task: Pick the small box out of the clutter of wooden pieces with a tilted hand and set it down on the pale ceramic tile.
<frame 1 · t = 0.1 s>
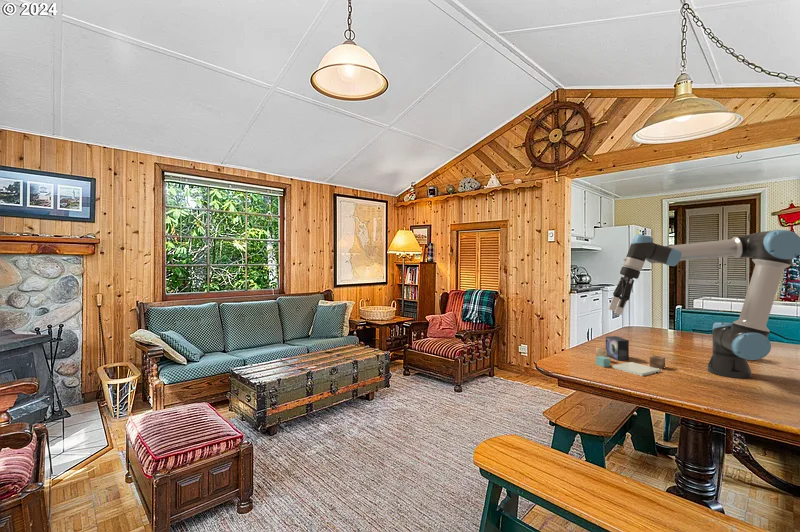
hand: (614, 312, 176), 28 cm above the table, tool tilted 20°, fingers open, 13 cm apart
oak cylinder: (601, 360, 196), on the table
pine cone: (741, 359, 198), on the table
small box: (616, 358, 201), on the table
tile: (636, 369, 179), on the table
walnut block: (657, 367, 183), on the table
teal block: (602, 365, 187), on the table
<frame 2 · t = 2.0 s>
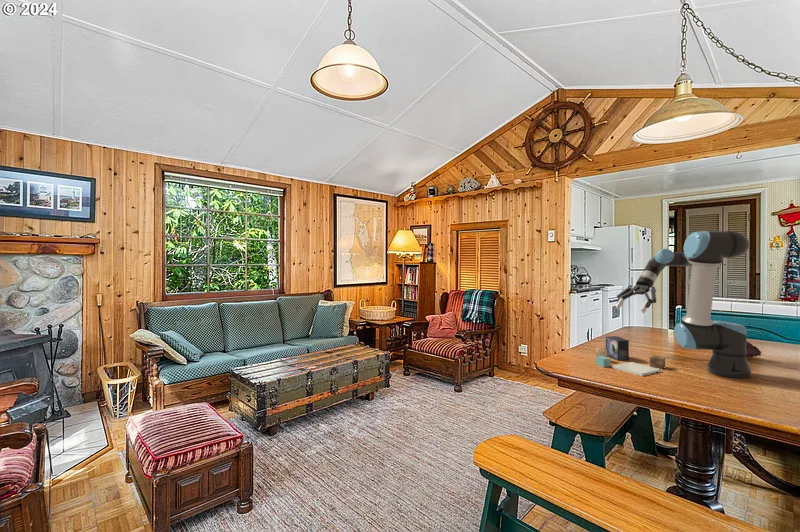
hand: (629, 309, 204), 25 cm above the table, tool tilted 45°, fingers open, 13 cm apart
nothing on the table moved.
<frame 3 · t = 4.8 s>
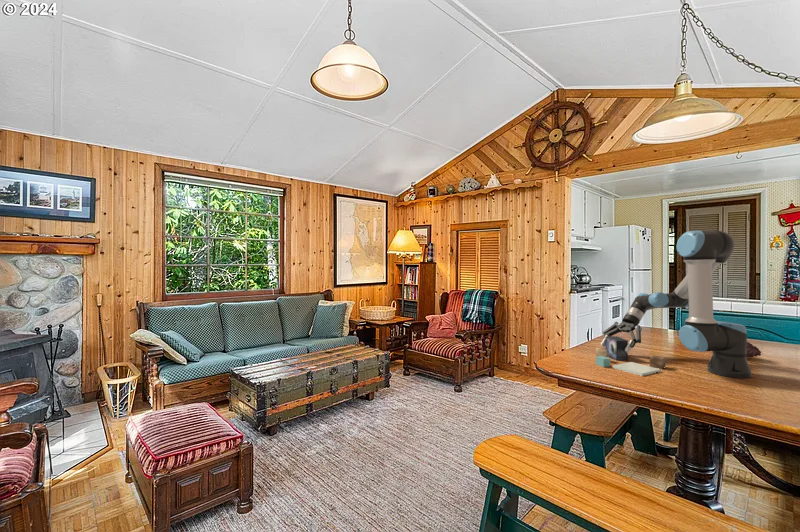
hand: (613, 348, 200), 5 cm above the table, tool tilted 45°, fingers open, 13 cm apart
nothing on the table moved.
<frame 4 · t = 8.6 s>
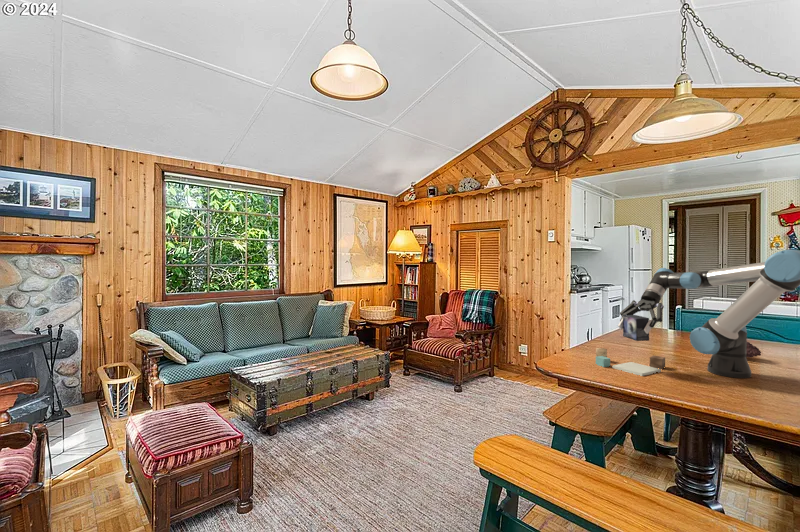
hand: (632, 329, 178), 19 cm above the table, tool tilted 45°, fingers closed on small box, 12 cm apart
small box: (635, 339, 179), point 15 cm above the table, touching gripper
everything else where it was.
when the fingers open (7 cm above the table, at t = 11.7 s): small box stays where it is, resting on tile.
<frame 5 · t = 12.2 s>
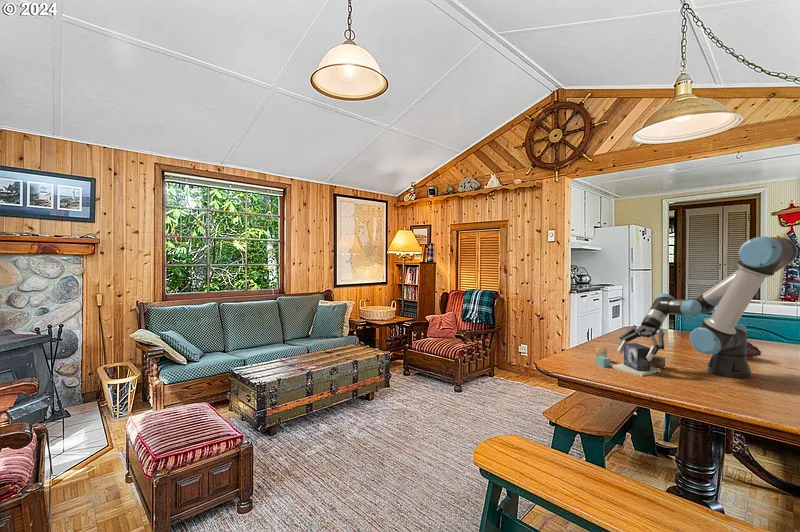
hand: (633, 355, 178), 7 cm above the table, tool tilted 45°, fingers open, 13 cm apart
small box: (636, 368, 179), point 1 cm above the table, touching tile
everything else where it was.
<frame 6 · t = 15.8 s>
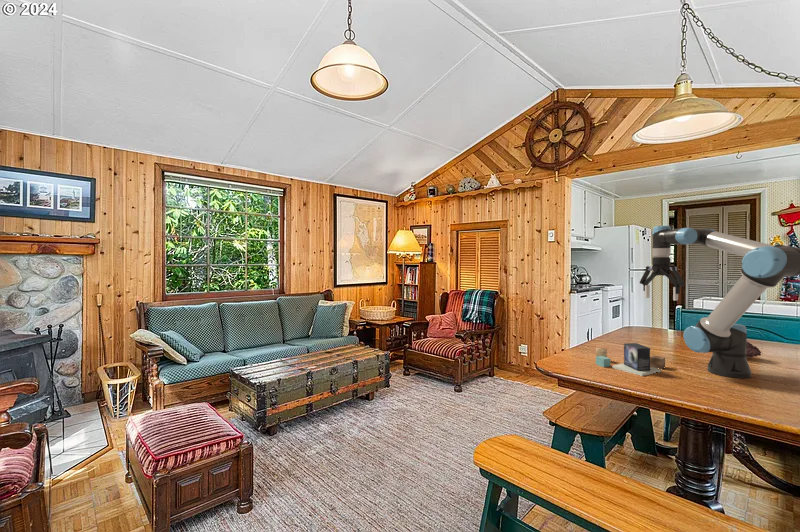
hand: (661, 299, 192), 32 cm above the table, tool pointing down, fingers open, 13 cm apart
nothing on the table moved.
at the end: small box inside the target area on the tile (0.3 cm from its centre), point 1.0 cm above the tile's base; small box tilted 0°; the gripper is holding nothing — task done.
